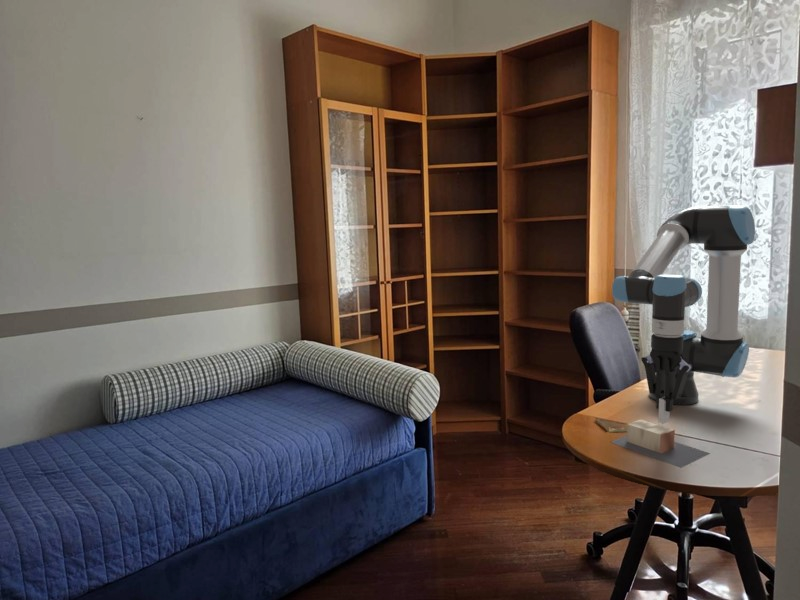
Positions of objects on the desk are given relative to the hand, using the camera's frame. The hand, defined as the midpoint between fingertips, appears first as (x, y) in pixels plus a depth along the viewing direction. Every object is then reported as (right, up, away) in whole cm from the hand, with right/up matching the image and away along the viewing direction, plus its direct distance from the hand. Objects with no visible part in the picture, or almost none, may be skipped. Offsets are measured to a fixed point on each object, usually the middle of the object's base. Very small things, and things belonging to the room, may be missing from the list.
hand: (663, 421), depth 146 cm
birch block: (+1, -5, -1) cm, 5 cm away
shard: (-8, -7, +17) cm, 20 cm away
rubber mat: (0, -8, +2) cm, 8 cm away
